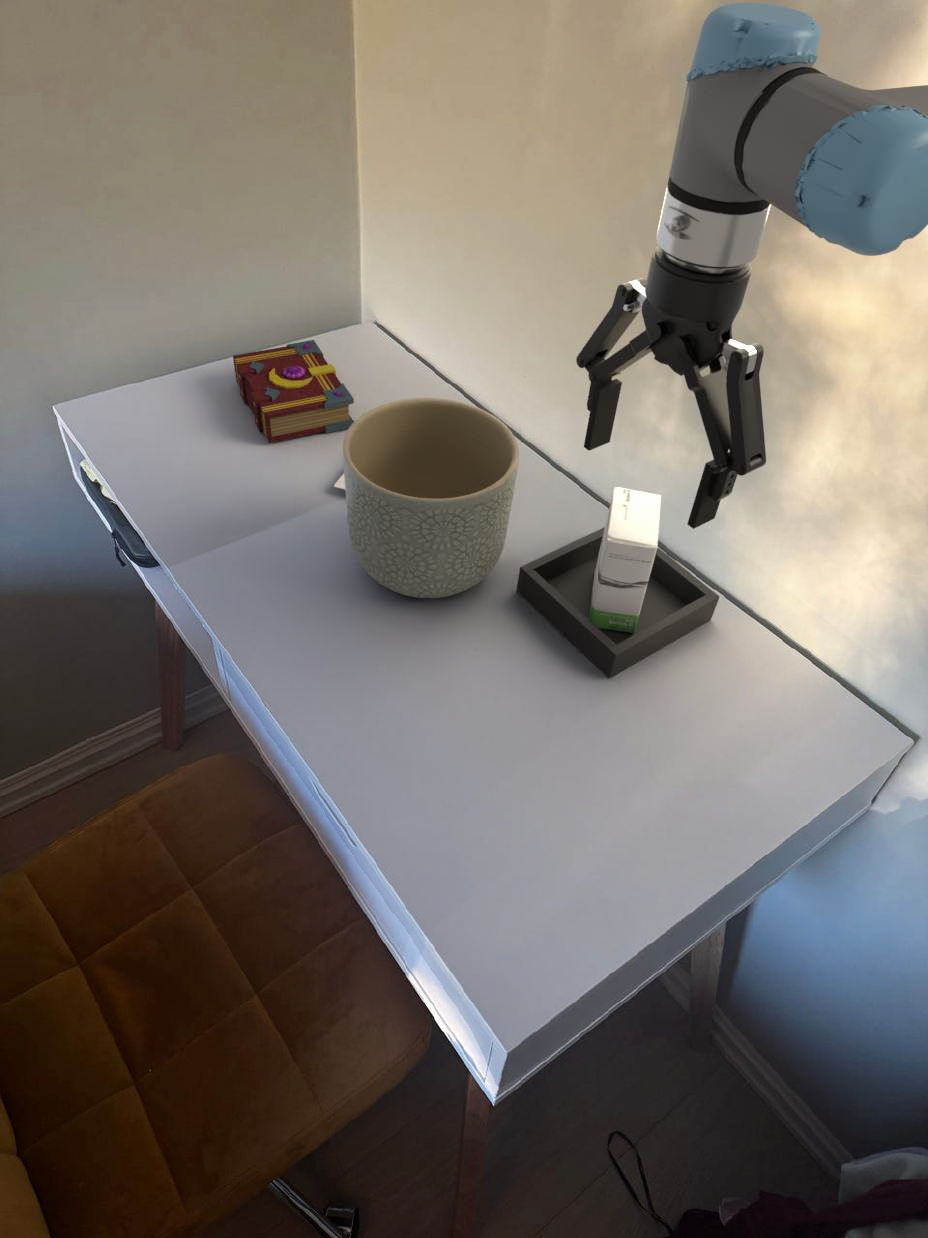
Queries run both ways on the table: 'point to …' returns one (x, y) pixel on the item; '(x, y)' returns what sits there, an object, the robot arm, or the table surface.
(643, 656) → the dock
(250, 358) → the decorative book
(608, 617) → the ink box
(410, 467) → the planter
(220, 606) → the table surface
